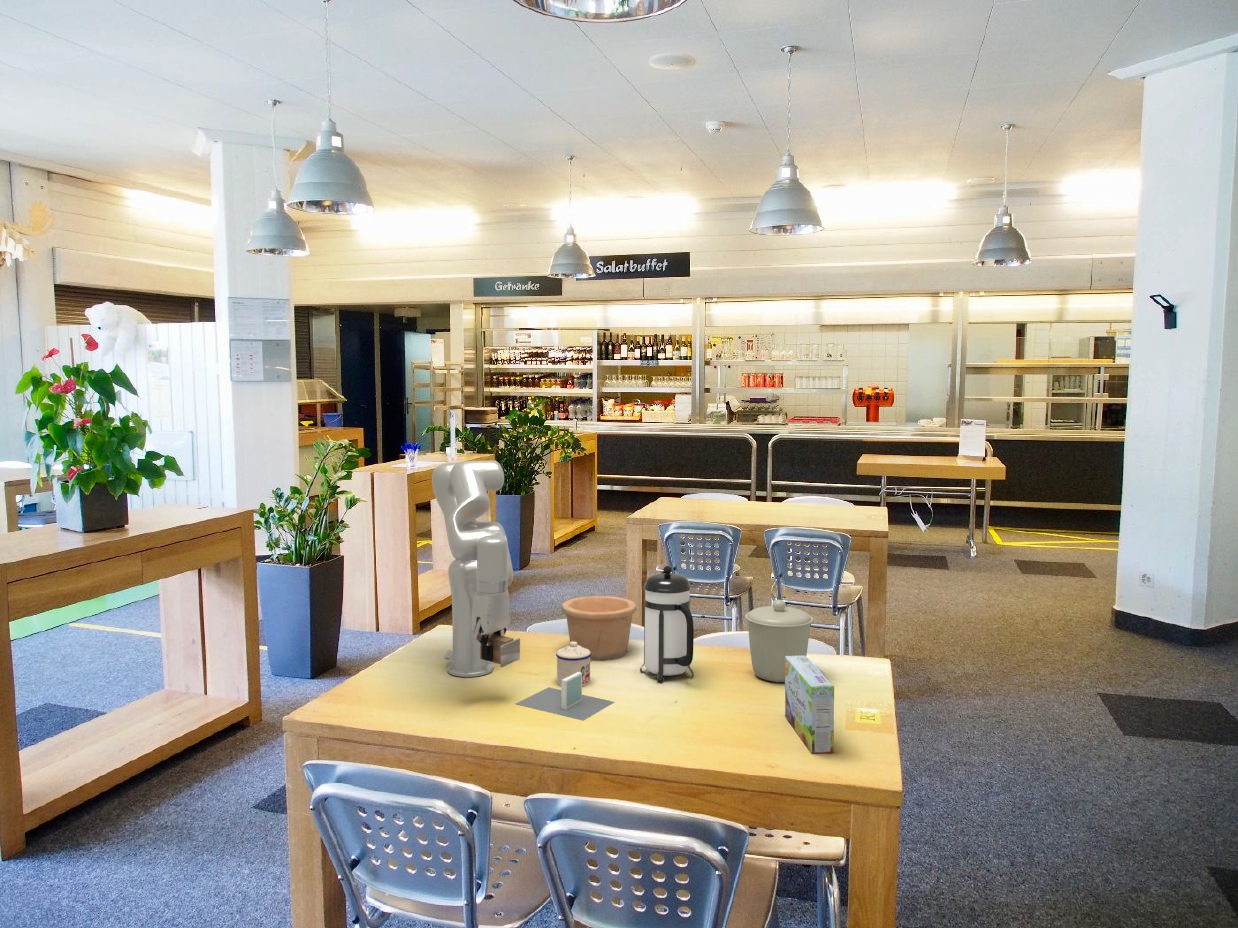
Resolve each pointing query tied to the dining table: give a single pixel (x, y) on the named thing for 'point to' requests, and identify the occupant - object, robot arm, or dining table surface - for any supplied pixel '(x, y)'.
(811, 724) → the snack box
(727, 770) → the dining table surface
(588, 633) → the pottery
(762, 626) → the canister
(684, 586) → the coffee press
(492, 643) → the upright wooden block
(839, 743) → the dining table surface
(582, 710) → the slate board
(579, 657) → the teacup with lid
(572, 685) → the tile
